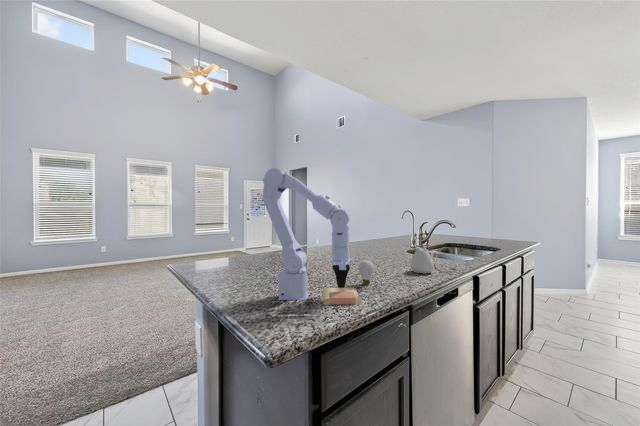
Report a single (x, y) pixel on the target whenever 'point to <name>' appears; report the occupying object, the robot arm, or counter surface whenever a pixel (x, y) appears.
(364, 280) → the light bulb
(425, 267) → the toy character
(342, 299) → the tile
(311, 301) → the counter surface
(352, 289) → the mat
